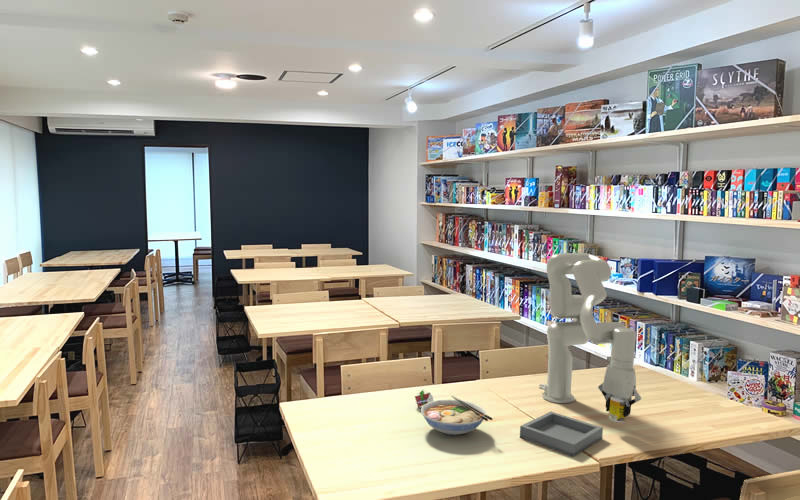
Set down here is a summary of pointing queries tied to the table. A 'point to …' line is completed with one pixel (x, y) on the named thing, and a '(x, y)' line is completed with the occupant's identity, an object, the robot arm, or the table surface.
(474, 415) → the ramen bowl
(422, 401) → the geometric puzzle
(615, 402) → the supplement bottle
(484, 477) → the table surface
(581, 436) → the tray
